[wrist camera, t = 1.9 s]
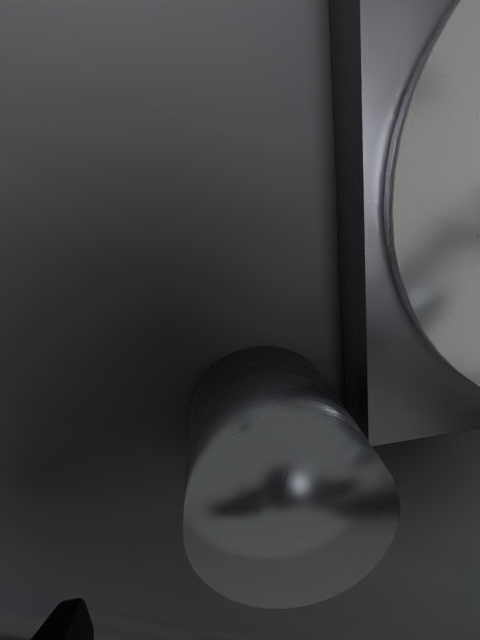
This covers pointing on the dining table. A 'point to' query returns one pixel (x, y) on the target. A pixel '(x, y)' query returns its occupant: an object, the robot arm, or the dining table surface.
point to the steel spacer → (281, 484)
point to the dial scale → (408, 213)
